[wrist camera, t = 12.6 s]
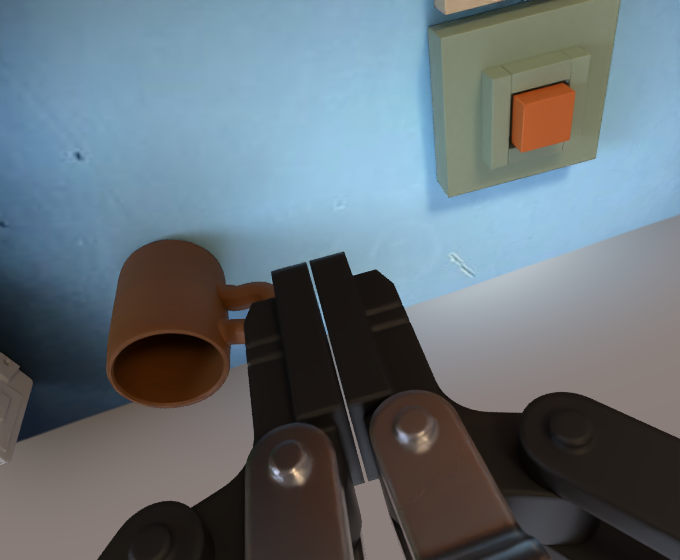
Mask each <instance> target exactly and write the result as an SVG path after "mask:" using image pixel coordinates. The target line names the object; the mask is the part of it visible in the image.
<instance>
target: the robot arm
mask: <svg viewBox="0 0 680 560" xmlns="http://www.w3.org/2000/svg"><path fill="white" fill-rule="evenodd" d="M309 262H310V266H311V270H312V274H313V277H314V281H315V285H316V289H317V293H318V296H319V300H320V304H321V308H322V312H323V315H324V319H325V323H326V327H327V331H328V334H329V338H330V342H331V346H332V349H333V353H334V357H335V361H336V365H337V369H338V372H339V376H340V380H341V383H342V388H343V391H344V395H345V399H346V402H347V406H348V410H349V414H350V417H351V421H352V424H353V427H354V432H355V435H356V439H357V442H358V446H359V449H360V453H361V456H362V460H363V464H364V467H365V471H366V474H367V478H368V481H371V480H375V479H378V478H379V480H380V483H381V487H382V490H383V494H384V497H385V501H386V505H387V508H388V512H389V516H390V520H391V524H392V526H393V529H394V532H395V535H396V537H397V540H398V543H399V546H400V548H401V551H402V554H403V556H404V559H405V560H680V439H679V438H677V437H675V436H672V435H670V434H668V433H666V432H664V431H661V430H659V429H657V428H655V427H652V426H650V425H648V424H646V423H644V422H642V421H639V420H637V419H635V418H633V417H630V416H628V415H626V414H624V413H622V412H619V411H617V410H615V409H613V408H611V407H608V406H606V405H604V404H602V403H599V402H597V401H595V400H593V399H591V398H588V397H586V396H583V395H579V394H575V393H568V392H555V393H549V394H546V395H543V396H540V397H538V398H536V399H534V400H533V401H532V402H531V403H529V404H528V406H527V407H526V408H525V409H524V411H523V413H504V412H482V411H476V410H472V409H469V408H466V407H463V406H461V405H459V404H457V403H455V402H454V401H453V400H451V399H450V398H448V397H447V396H446V395H445V394H444V393H443V392H442V390H441V389H440V388H439V386H438V384H437V382H436V381H435V378H434V376H433V373H432V371H431V369H430V367H429V364H428V362H427V360H426V357H425V355H424V353H423V350H422V348H421V346H420V344H419V341H418V339H417V337H416V334H415V332H414V330H413V327H412V325H411V323H410V322H409V318H408V316H407V314H406V311H405V309H404V306H403V305H402V302H401V300H400V297H399V295H398V293H397V290H396V288H395V286H394V283H392V282H391V281H390V280H389V279H387V278H386V277H385V276H384V275H382V274H381V273H380V272H379V271H378V270H372V271H368V272H365V273H361V274H357V275H352V273H351V270H350V267H349V264H348V261H347V258H346V255H345V253H344V252H340V253H336V254H333V255H329V256H325V257H322V258H318V259H314V260H310V261H309ZM271 276H272V282H273V288H274V293H275V297H273V298H269V299H265V300H262V301H258V302H254V303H252V304H251V306H250V309H249V311H248V314H247V316H246V319H245V321H244V324H243V326H244V336H245V346H246V357H247V364H248V376H249V387H250V397H251V405H252V406H251V407H252V416H253V427H254V444H253V448H252V450H251V452H250V454H249V456H248V459H247V463H246V464H245V466H244V467H243V469H242V470H241V471H240V473H239V474H238V475H237V476H236V477H235V478H234V479H233V480H232V481H231V482H230V483H229V484H227V485H226V486H224V487H223V488H221V489H220V490H218V491H217V492H215V493H214V494H212V495H211V496H209V497H207V498H206V499H204V500H203V501H201V502H199V503H198V504H196V505H195V506H193V507H192V508H190V507H189V506H187V505H185V504H183V503H180V502H176V501H163V502H158V503H154V504H152V505H149V506H147V507H145V508H143V509H142V510H140V511H138V512H137V513H136V514H134V515H133V516H132V517H131V518H129V519H128V520H127V521H126V522H125V523H124V525H123V526H122V527H121V528H120V529H119V531H118V532H117V534H116V535H115V536H114V538H113V539H112V540H111V542H110V543H109V544H108V546H107V547H106V548H105V550H104V551H103V553H102V554H101V555H100V557H99V558H98V559H97V560H366V554H365V548H364V542H363V535H362V530H361V526H362V525H361V524H362V521H361V515H360V510H359V506H358V502H357V498H356V494H355V489H354V486H355V485H359V484H362V483H365V481H364V478H363V474H362V470H361V466H360V462H359V458H358V454H357V450H356V447H355V443H354V439H353V435H352V431H351V427H350V423H349V420H348V416H347V412H346V408H345V404H344V400H343V397H342V393H341V389H340V385H339V381H338V377H337V374H336V369H335V366H334V362H333V358H332V354H331V350H330V346H329V342H328V339H327V335H326V331H325V327H324V324H323V320H322V316H321V313H320V309H319V306H318V302H317V299H316V295H315V291H314V288H313V284H312V281H311V277H310V274H309V270H308V267H307V263H306V262H304V263H300V264H296V265H292V266H289V267H285V268H281V269H277V270H274V271H271Z"/></svg>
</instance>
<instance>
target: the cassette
mask: <svg viewBox="0 0 680 560" xmlns="http://www.w3.org/2000/svg"><path fill="white" fill-rule="evenodd" d="M19 368H20V366H19V365H17V364H16V363H15V362H13V361H12V360H11V359H9V358H8V357H7V356H5V355H4V354H3V353H1V352H0V465H2V464H5V463H7V462H9V461H10V460H11V458H12V455H13V451H14V448H15V444H16V441H17V437H18V434H19V430H20V427H21V423H22V420H23V416H24V413H25V409H26V406H27V402H28V399H29V395H30V392H31V388H32V385H33V381H32V380H31V379H30V378H29V377H28V376H27V375H25V374H24V373H23V372H21V371H20V370H19Z"/></svg>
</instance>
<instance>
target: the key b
mask: <svg viewBox="0 0 680 560" xmlns="http://www.w3.org/2000/svg"><path fill="white" fill-rule="evenodd" d="M574 101H575V91H574V90H573V89H571V88H570V87H568V86H567V85H565V84H564V83H559V84H555V85H551V86H547V87H543V88H539V89H535V90H532V91H528V92H524V93H520V94H516V95H513V109H512V134H511V143H512V144H513V145H514V146H515V147H516V148H517V149H518V150H519V151H520V152H521V153H523V152H527V151H531V150H535V149H538V148H542V147H546V146H550V145H553V144H557V143H561V142H565V141H569V140H570V134H571V126H572V118H573V109H574Z"/></svg>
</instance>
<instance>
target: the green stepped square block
mask: <svg viewBox="0 0 680 560" xmlns="http://www.w3.org/2000/svg"><path fill="white" fill-rule="evenodd" d="M620 1H621V0H532V1H528V2H524V3H520V4H516V5H512V6H508V7H504V8H501V9H497V10H493V11H489V12H485V13H481V14H477V15H473V16H469V17H465V18H461V19H457V20H453V21H449V22H445V23H441V24H437V25H433V26H429V27H428V42H429V58H430V74H431V90H432V106H433V122H434V138H435V154H436V170H437V182H438V183H439V185H440V186H441V187H442V189H443V190H444V192H445V193H446V195H447V196H448V198H450V197H453V196H457V195H461V194H465V193H468V192H472V191H476V190H480V189H483V188H487V187H491V186H495V185H498V184H502V183H506V182H510V181H513V180H517V179H521V178H525V177H528V176H532V175H536V174H540V173H543V172H547V171H551V170H555V169H558V168H562V167H566V166H570V165H573V164H577V163H581V162H585V161H588V160H592V159H595V158H596V153H597V147H598V140H599V134H600V128H601V121H602V115H603V109H604V102H605V96H606V90H607V83H608V77H609V71H610V64H611V58H612V52H613V45H614V39H615V33H616V26H617V20H618V14H619V7H620ZM559 83H564V84H565V85H567V86H568V87H570V88H571V89H573V90H574V91H575V101H574V109H573V118H572V126H571V134H570V140H569V141H565V142H561V143H557V144H553V145H550V146H546V147H542V148H538V149H535V150H531V151H527V152H523V153H521V152H520V151H519V150H518V149H517V148H516V147H515V146H514V145H513V144H512V143H511V134H512V109H513V95H516V94H520V93H524V92H528V91H532V90H535V89H539V88H543V87H547V86H551V85H555V84H559Z"/></svg>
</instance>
